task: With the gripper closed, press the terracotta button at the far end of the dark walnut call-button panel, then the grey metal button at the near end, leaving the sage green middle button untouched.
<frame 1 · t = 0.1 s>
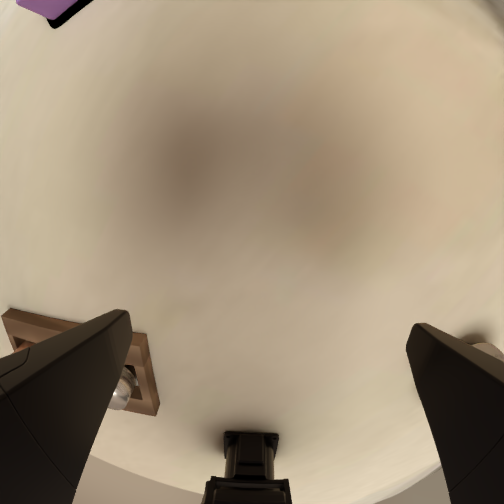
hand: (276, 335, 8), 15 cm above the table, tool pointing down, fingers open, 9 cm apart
terracotta button: (27, 361, 25), point 3 cm above the table, slide at 0.0 cm
button panel: (77, 357, 28), on the table
grey button: (113, 386, 25), point 3 cm above the table, slide at 0.0 cm
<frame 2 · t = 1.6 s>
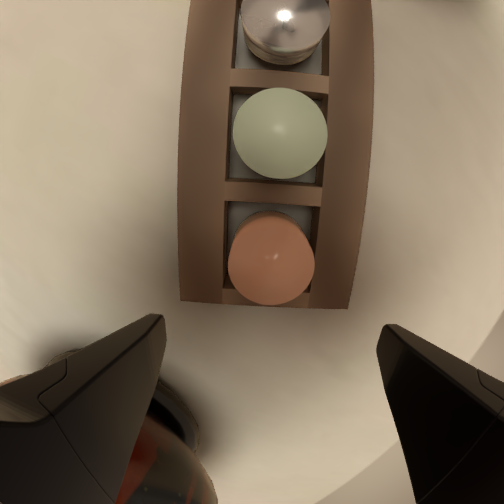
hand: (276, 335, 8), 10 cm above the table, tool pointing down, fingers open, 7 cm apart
terracotta button: (270, 255, 15), point 3 cm above the table, slide at 0.0 cm
button panel: (275, 137, 16), on the table
amphora vase: (120, 408, 24), on the table
sage button: (278, 134, 13), point 3 cm above the table, slide at 0.0 cm
grey button: (283, 22, 11), point 3 cm above the table, slide at 0.0 cm
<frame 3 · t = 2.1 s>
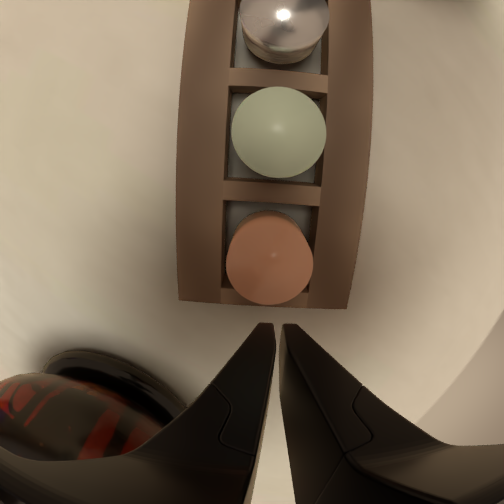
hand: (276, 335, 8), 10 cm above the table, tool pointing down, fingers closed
terracotta button: (268, 255, 15), point 3 cm above the table, slide at 0.0 cm
button panel: (273, 136, 16), on the table
amphora vase: (118, 408, 24), on the table
sage button: (277, 133, 13), point 3 cm above the table, slide at 0.0 cm
grey button: (282, 21, 11), point 3 cm above the table, slide at 0.0 cm
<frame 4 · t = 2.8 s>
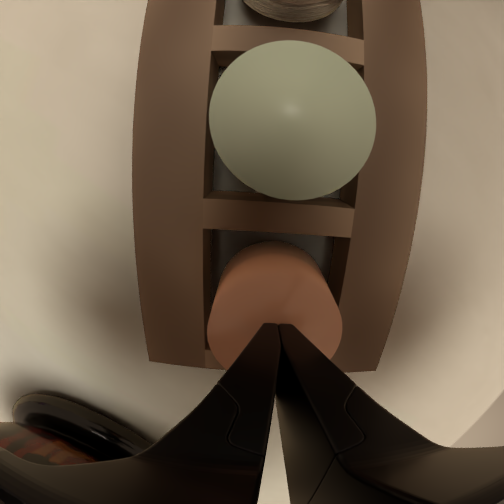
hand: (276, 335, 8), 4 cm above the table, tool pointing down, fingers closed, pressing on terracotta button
terracotta button: (273, 311, 10), point 3 cm above the table, slide at 0.2 cm, touching gripper
button panel: (281, 129, 11), on the table
amphora vase: (99, 451, 19), on the table
sage button: (289, 122, 8), point 3 cm above the table, slide at 0.0 cm
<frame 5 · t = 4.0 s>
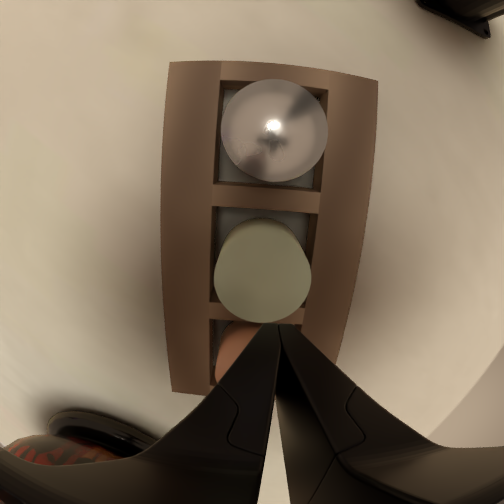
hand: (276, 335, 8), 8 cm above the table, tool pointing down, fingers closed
terracotta button: (252, 359, 16), point 2 cm above the table, slide at 0.9 cm
button panel: (260, 247, 16), on the table
amphora vase: (119, 453, 24), on the table
sage button: (261, 267, 14), point 3 cm above the table, slide at 0.0 cm
grey button: (272, 132, 12), point 3 cm above the table, slide at 0.0 cm
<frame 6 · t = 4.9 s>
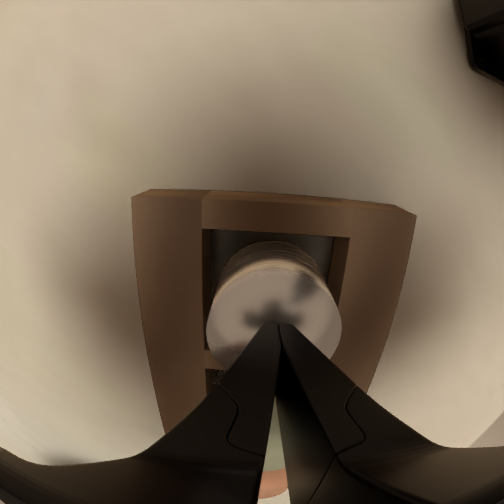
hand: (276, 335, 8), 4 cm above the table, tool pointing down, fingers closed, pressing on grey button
terracotta button: (253, 468, 15), point 2 cm above the table, slide at 0.9 cm
button panel: (260, 381, 15), on the table
sage button: (260, 425, 12), point 3 cm above the table, slide at 0.0 cm
grey button: (272, 311, 10), point 3 cm above the table, slide at 0.2 cm, touching gripper
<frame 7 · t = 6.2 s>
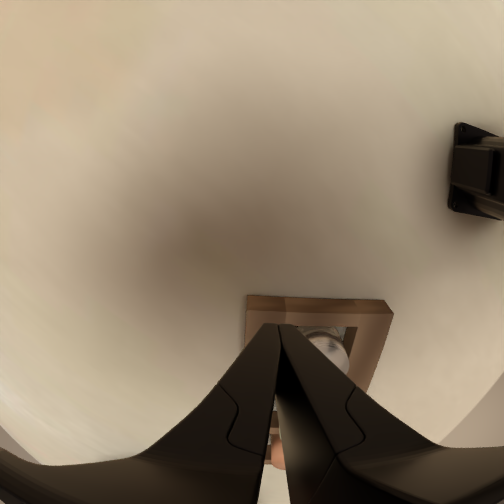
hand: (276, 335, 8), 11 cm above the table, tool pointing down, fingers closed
terracotta button: (292, 448, 23), point 2 cm above the table, slide at 0.9 cm
button panel: (300, 393, 23), on the table
sage button: (304, 419, 21), point 3 cm above the table, slide at 0.0 cm
grey button: (316, 356, 20), point 2 cm above the table, slide at 0.9 cm
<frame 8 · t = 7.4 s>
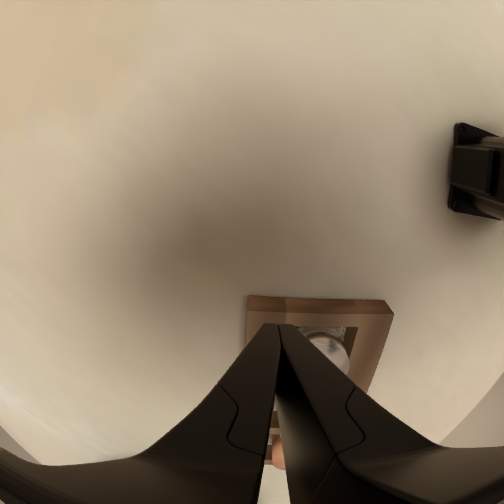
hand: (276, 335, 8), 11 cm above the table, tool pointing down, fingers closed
terracotta button: (293, 448, 23), point 2 cm above the table, slide at 0.9 cm
button panel: (301, 394, 23), on the table
grey button: (317, 356, 20), point 2 cm above the table, slide at 0.9 cm
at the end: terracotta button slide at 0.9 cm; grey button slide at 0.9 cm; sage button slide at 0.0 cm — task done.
